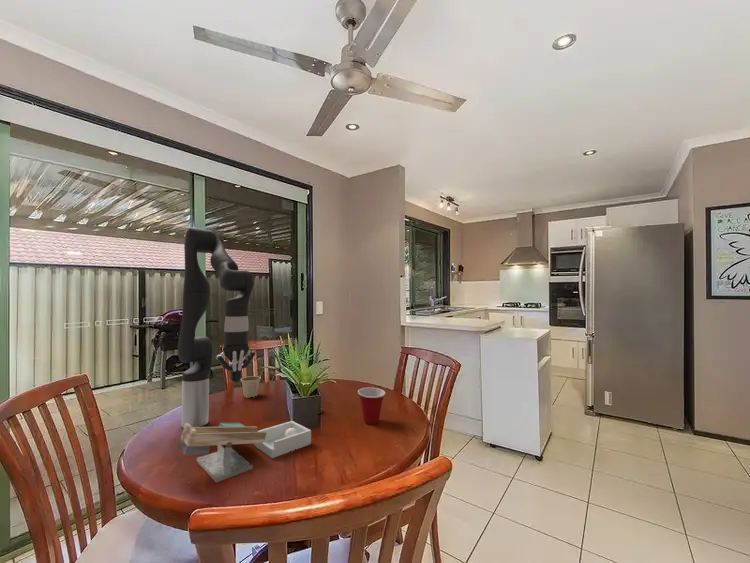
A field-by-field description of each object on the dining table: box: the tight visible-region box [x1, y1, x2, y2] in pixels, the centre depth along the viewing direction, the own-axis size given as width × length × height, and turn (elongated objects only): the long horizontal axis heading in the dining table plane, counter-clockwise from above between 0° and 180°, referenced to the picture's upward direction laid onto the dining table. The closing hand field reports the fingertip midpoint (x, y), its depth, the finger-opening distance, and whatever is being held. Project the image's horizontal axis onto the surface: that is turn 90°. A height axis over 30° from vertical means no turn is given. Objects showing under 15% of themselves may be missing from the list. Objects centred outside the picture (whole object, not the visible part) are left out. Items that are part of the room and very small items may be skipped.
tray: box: [253, 420, 312, 459], centre depth 112 cm, size 12×14×4 cm
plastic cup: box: [357, 386, 386, 425], centre depth 132 cm, size 11×11×12 cm
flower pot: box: [240, 375, 262, 399], centre depth 166 cm, size 9×9×9 cm
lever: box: [178, 422, 267, 457], centre depth 103 cm, size 20×22×6 cm
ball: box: [285, 428, 297, 437], centre depth 114 cm, size 4×4×4 cm
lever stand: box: [196, 445, 253, 484], centre depth 99 cm, size 16×10×6 cm, turn 44°
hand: (235, 381), depth 112 cm, fingers closed
